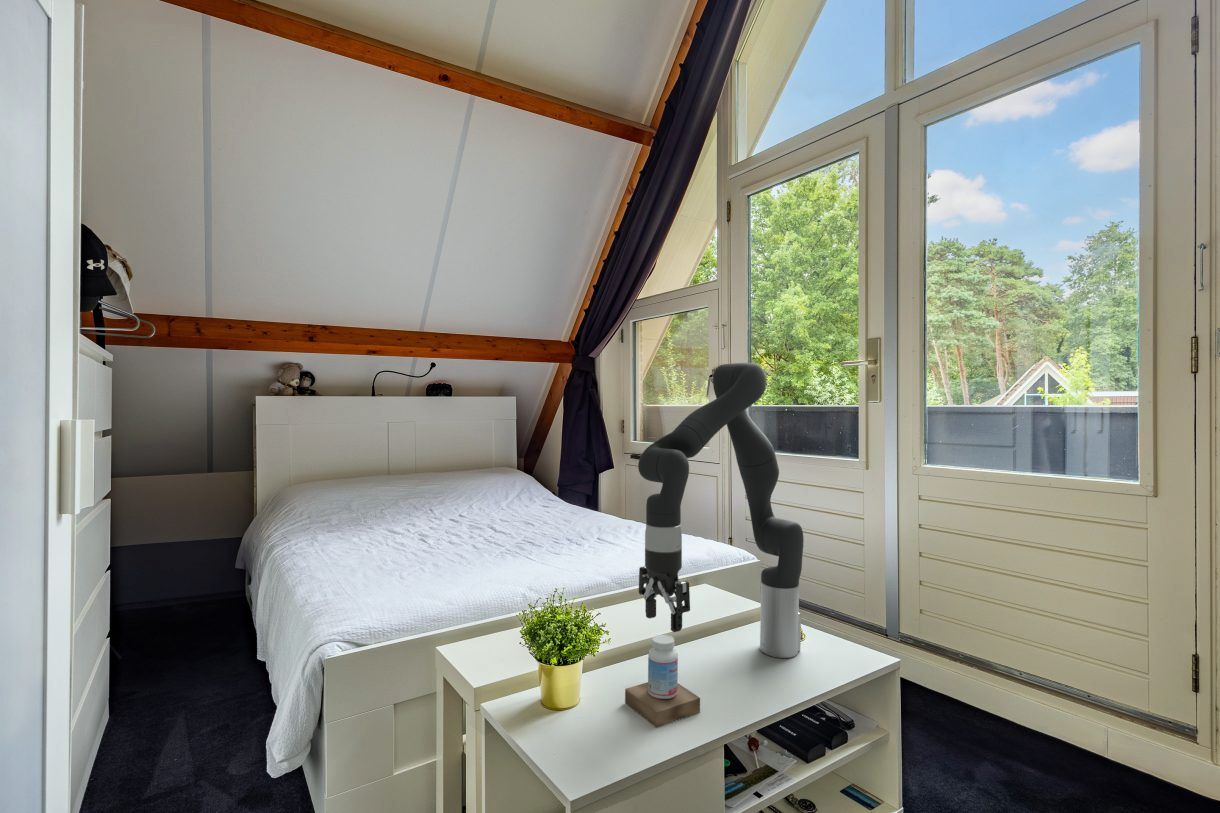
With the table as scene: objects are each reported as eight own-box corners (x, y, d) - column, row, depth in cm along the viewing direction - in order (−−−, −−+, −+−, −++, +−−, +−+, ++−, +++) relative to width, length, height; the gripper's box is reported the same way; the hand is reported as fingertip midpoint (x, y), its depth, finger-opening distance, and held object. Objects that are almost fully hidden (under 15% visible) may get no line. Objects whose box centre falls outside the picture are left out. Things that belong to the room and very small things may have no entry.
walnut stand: (667, 689, 134) (667, 676, 134) (700, 712, 125) (700, 697, 125) (625, 703, 128) (625, 688, 128) (656, 727, 119) (656, 712, 119)
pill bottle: (676, 702, 123) (676, 646, 123) (645, 698, 124) (646, 643, 124) (678, 687, 129) (679, 634, 129) (650, 684, 130) (650, 632, 130)
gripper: (700, 551, 122) (700, 631, 122) (657, 536, 134) (657, 609, 134) (670, 556, 118) (670, 640, 118) (628, 540, 130) (628, 616, 130)
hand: (663, 623), depth 126 cm, fingers open, 8 cm apart
